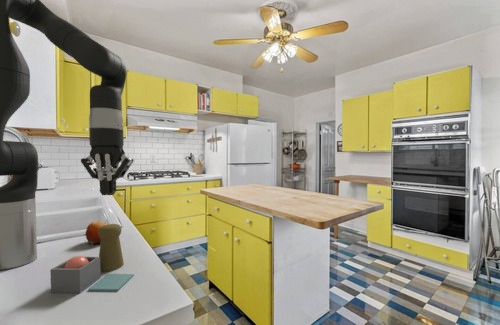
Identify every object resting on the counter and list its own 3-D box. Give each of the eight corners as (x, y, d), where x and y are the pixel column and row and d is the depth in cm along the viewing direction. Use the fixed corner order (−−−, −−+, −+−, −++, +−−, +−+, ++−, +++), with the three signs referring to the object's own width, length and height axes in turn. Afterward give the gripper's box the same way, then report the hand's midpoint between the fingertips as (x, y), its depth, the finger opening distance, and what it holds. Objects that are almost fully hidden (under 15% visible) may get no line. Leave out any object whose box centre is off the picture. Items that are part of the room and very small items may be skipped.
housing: (51, 292, 50) (50, 269, 50) (74, 277, 56) (74, 256, 56) (80, 293, 50) (79, 269, 50) (100, 277, 56) (100, 256, 56)
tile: (88, 290, 51) (88, 288, 51) (107, 275, 57) (107, 273, 57) (117, 291, 50) (117, 289, 50) (133, 275, 57) (133, 274, 57)
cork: (111, 272, 58) (110, 229, 58) (91, 270, 60) (90, 227, 59) (128, 262, 64) (128, 222, 64) (110, 260, 65) (109, 221, 65)
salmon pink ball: (58, 285, 51) (57, 261, 51) (75, 274, 55) (74, 252, 55) (79, 285, 51) (78, 261, 50) (94, 275, 55) (93, 252, 55)
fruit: (74, 240, 77) (88, 217, 81) (97, 246, 83) (109, 224, 86) (85, 245, 73) (99, 220, 76) (108, 251, 78) (120, 227, 82)
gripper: (69, 126, 57) (71, 197, 58) (123, 125, 56) (125, 197, 57) (92, 130, 65) (93, 192, 65) (139, 129, 64) (140, 192, 64)
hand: (108, 194), depth 61 cm, fingers closed
